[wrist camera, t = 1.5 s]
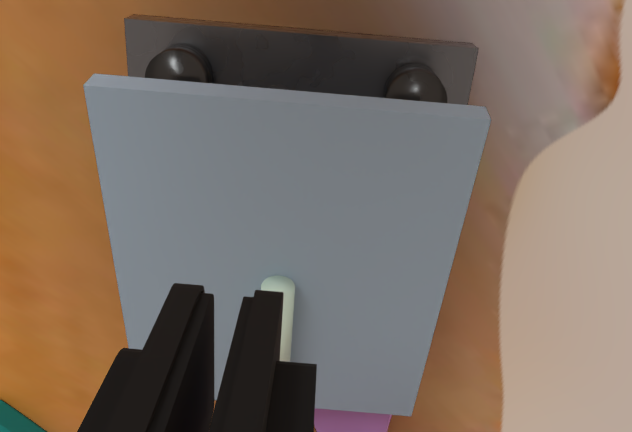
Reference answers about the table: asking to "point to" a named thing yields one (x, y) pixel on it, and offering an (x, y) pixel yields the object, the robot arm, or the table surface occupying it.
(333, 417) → the toy chair
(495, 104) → the table surface
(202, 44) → the leveling stand
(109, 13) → the table surface
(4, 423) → the digital multimeter
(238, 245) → the plate
